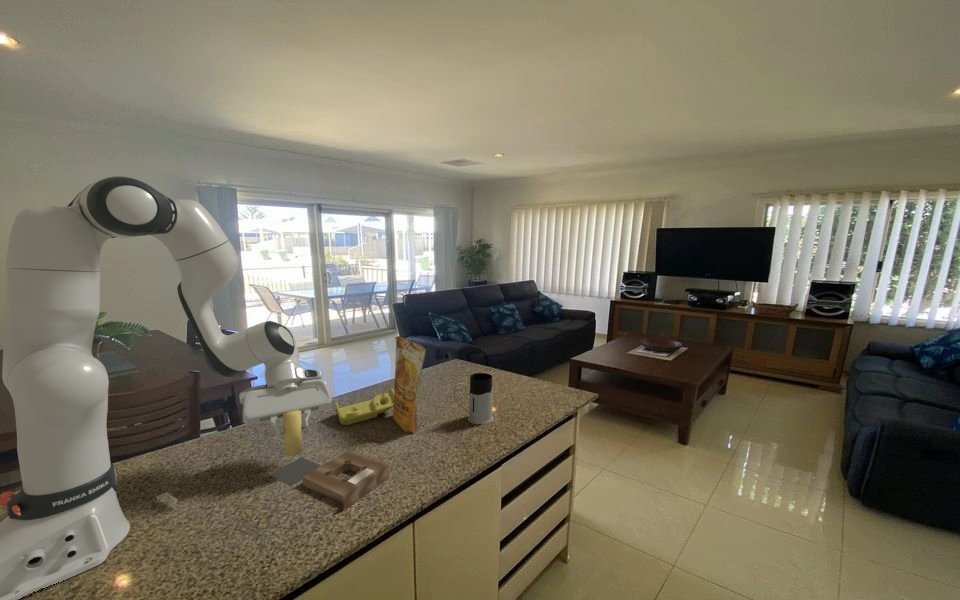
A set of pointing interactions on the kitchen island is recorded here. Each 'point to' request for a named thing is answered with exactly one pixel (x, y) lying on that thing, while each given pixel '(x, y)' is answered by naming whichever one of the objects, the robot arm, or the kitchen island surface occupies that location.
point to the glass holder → (479, 398)
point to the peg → (292, 433)
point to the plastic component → (365, 408)
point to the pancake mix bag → (407, 382)
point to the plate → (294, 471)
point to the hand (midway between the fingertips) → (293, 431)
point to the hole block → (348, 488)
